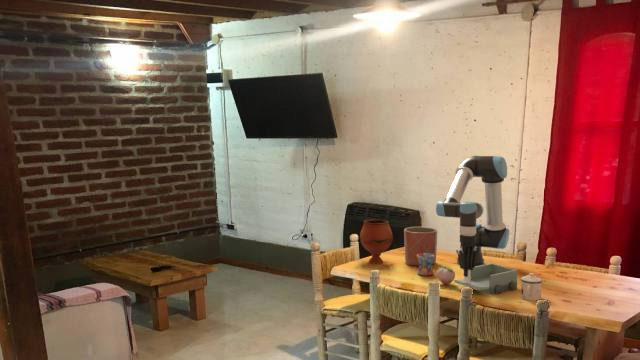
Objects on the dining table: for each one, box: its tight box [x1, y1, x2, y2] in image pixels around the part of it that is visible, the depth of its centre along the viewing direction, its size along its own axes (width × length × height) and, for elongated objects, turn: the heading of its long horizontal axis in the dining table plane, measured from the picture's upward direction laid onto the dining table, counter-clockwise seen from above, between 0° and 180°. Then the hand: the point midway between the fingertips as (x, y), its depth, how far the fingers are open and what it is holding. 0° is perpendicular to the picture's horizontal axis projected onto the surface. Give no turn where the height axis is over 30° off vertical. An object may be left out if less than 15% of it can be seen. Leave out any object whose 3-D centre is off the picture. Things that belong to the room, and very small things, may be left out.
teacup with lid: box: [520, 272, 543, 302], centre depth 240 cm, size 12×9×12 cm
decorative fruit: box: [435, 265, 456, 285], centre depth 263 cm, size 9×8×10 cm
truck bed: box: [471, 262, 518, 295], centre depth 258 cm, size 18×19×9 cm
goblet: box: [359, 219, 394, 265], centre depth 307 cm, size 19×19×25 cm
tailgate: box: [453, 278, 489, 291], centre depth 251 cm, size 2×15×8 cm
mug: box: [416, 253, 434, 277], centre depth 283 cm, size 12×9×11 cm
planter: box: [403, 226, 438, 267], centre depth 305 cm, size 19×19×20 cm
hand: (467, 282), depth 250 cm, fingers closed
